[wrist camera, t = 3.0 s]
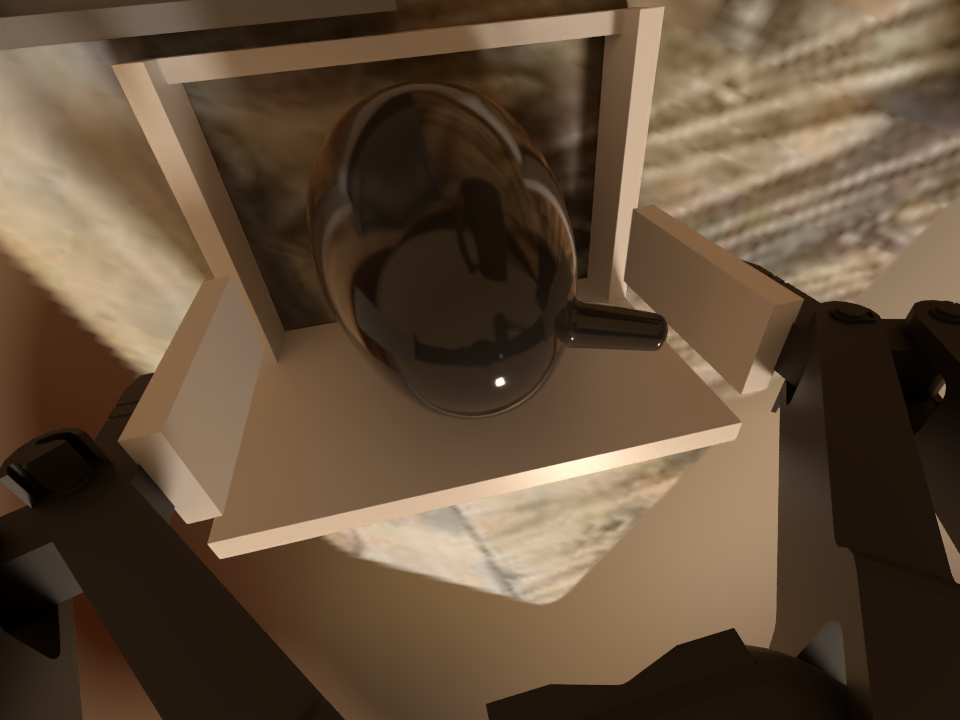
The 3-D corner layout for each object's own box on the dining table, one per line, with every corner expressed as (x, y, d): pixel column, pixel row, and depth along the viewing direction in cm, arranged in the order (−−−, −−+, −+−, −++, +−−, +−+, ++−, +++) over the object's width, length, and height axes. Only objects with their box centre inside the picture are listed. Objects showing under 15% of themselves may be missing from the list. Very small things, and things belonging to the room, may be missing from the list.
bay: (628, 7, 20) (907, 0, 10) (601, 289, 29) (735, 439, 18) (143, 58, 18) (-146, 117, 7) (273, 348, 26) (220, 559, 16)
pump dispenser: (518, 276, 27) (645, 483, 15) (334, 290, 25) (313, 540, 13) (534, 71, 21) (770, 147, 9) (293, 70, 19) (183, 163, 7)
